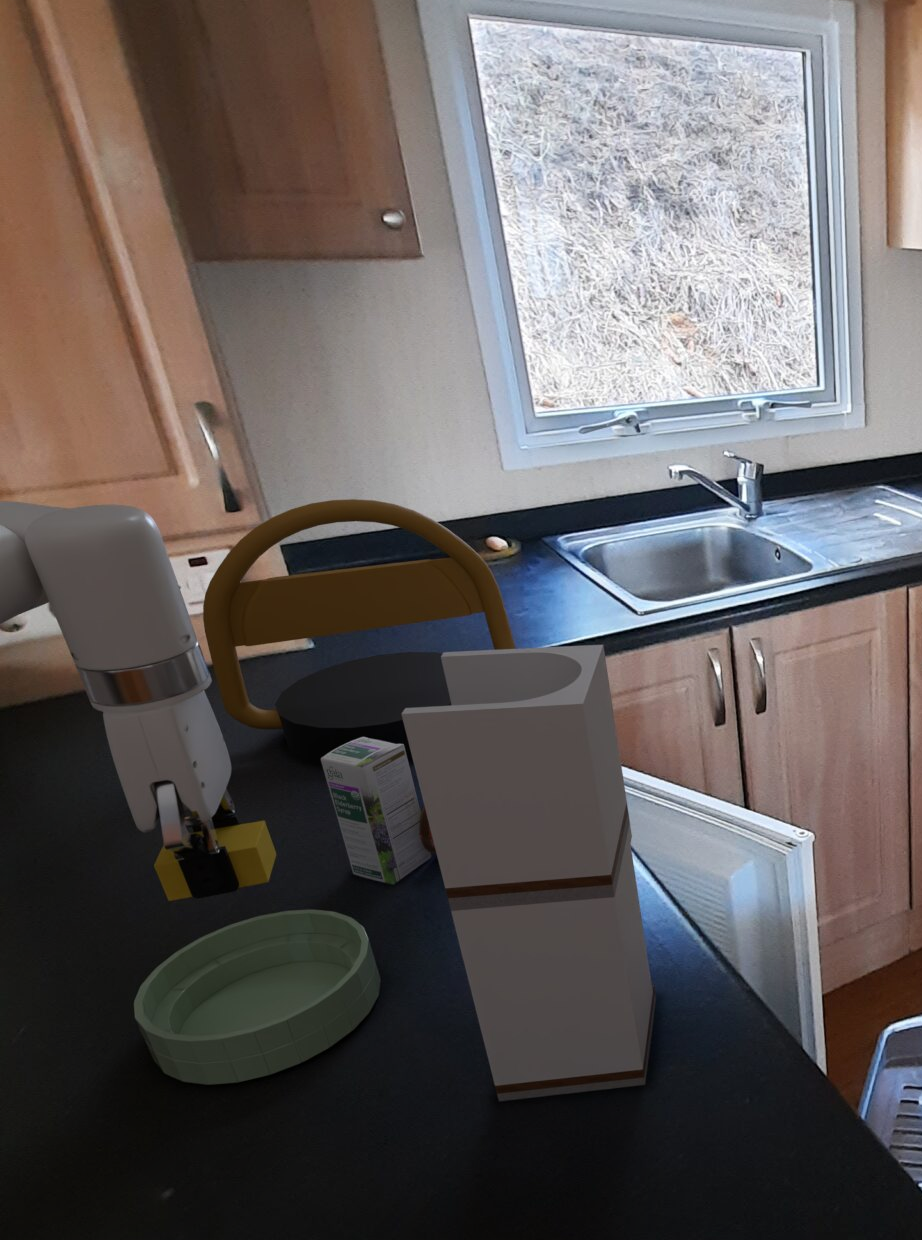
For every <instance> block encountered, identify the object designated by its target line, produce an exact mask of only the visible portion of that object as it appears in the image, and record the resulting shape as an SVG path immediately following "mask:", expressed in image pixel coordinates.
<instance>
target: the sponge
mask: <svg viewBox="0 0 922 1240" xmlns="http://www.w3.org/2000/svg"><path fill="white" fill-rule="evenodd" d="M267 826H268V825H267V823H266V820H258V821H252V822H248V823H247V822H246V823H241V824H240V825H235V826H229V827H223V828H218V829H215V831H216V835H217V838H218V842H219V846H220V847H222V846H225V847H226V849H227V852H228V855H229V857H230V860H231V863H232V865H233V868H234V871H235V873H236V876H237V879H238V881H239V887H238V889H241V888H245V887H249V886H256V885H260V884H264V883H265V884H266V883H269V882H270V879H271V875H272V871H273V868H274V864H275V860H276V857H277V852H276V849H275V846H274V843H273V840H272V838H271V834H270V832H269V829H268V827H267ZM190 833H191V834H196V833H198V834H199V835H201V836H203V832H202V831H200V832H195V833H194V832H190ZM203 837H204V836H203ZM153 867H154V870H155V872H156V874H157V876H158V879H159V881H160V884H161V886H162V889H163V891H164V893H165V896H166V898H167V901H168V902H172V901H179V900H183V899H187V898H193V897H192V895H191V893H190V890H189V888H188V885H187V883H186V880H185V878H184V875H183V873H182V870H181V868H180V865H179V863H178V861H177V860H176V859H175V856H174V853H173V851H169V850H166V849H165V847H164V844H163V845H162V847H161V849H160V851H159V854H158V856H157V858H156V860H155V863H154V864H153Z"/></svg>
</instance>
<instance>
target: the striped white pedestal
mask: <svg viewBox="0 0 922 1240" xmlns="http://www.w3.org/2000/svg"><path fill="white" fill-rule="evenodd" d="M442 653H443V654H442V656H441V660H442V664H443V669H444V673H445V678H446V682H447V686H448V691H449V695H450V700H451V704H452V706H435V707H417V708H405V709H404V711H403V712H402V718H403V722H404V726H405V730H406V734H407V738H408V742H409V746H410V750H411V754H412V758H413V760H412V761H413V766H414V769H415V773H416V779H417V782H418V785H419V790H420V793H421V798H422V801H423V805H424V806H425V810H426V814H427V818H428V822H429V826H430V830H431V834H432V838H433V841H434V845H435V849H436V853H437V854H436V857H437V861H438V865H439V869H440V873H441V877H442V881H443V885H444V889H445V893H446V897H447V901H448V905H449V909H450V912H451V917H452V921H453V925H454V929H455V932H456V936H457V940H458V944H459V948H460V952H461V956H462V961H463V964H464V969H465V972H466V976H467V980H468V985H469V988H470V992H471V997H472V1001H473V1004H474V1008H475V1012H476V1016H477V1019H478V1024H479V1028H480V1032H481V1036H482V1040H483V1044H484V1048H485V1051H486V1056H487V1059H488V1064H489V1068H490V1072H491V1076H492V1080H493V1084H494V1087H495V1091H496V1095H497V1099H498V1100H497V1101H498V1102H507V1101H514V1100H524V1099H532V1098H540V1097H541V1098H542V1097H548V1096H558V1095H568V1094H576V1093H584V1092H592V1091H602V1090H612V1089H620V1088H629V1087H636V1086H645V1085H646V1083H647V1082H646V1081H647V1074H648V1073H647V1072H648V1065H649V1058H650V1049H651V1041H652V1035H653V1033H652V1032H653V1026H654V1020H655V1019H654V1017H655V1010H656V1001H657V995H656V989H655V988H656V987H655V983H652V978H651V972H650V965H649V964H650V963H649V958H648V951H647V944H646V939H645V938H646V937H645V930H644V924H643V917H642V911H641V904H640V897H639V891H638V885H637V878H636V872H635V871H636V870H635V865H634V857H633V852H632V845H631V843H632V839H633V834H632V833H633V832H632V827H631V821H630V820H631V819H630V815H629V807H628V801H627V795H626V794H627V793H626V787H625V780H624V773H623V767H622V762H621V761H622V760H621V752H620V748H619V741H618V733H617V725H616V720H615V713H614V706H613V700H612V693H611V687H610V680H609V673H608V666H607V660H606V653H605V647H604V644H590V645H589V644H587V645H571V646H570V645H569V646H567V645H565V646H547V647H545V646H544V647H526V648H525V647H524V648H516V649H501V650H494V649H483V650H465V651H464V650H462V651H444V652H442Z"/></svg>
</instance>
